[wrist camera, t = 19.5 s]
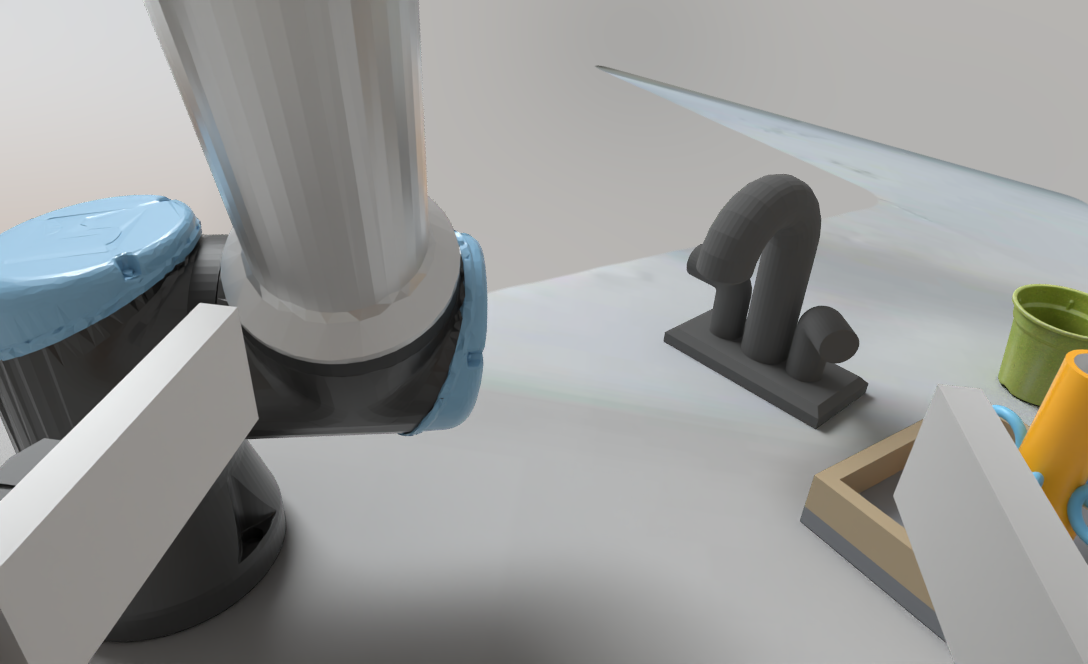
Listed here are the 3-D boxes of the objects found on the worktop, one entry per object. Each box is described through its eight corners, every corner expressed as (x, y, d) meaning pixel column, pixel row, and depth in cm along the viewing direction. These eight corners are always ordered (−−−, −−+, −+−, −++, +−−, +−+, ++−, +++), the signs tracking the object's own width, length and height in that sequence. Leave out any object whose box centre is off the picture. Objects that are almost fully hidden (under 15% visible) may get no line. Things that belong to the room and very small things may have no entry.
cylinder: (1081, 511, 57) (1182, 340, 49) (1134, 628, 48) (1267, 444, 40) (905, 475, 59) (974, 307, 51) (926, 581, 50) (1013, 399, 42)
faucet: (606, 365, 72) (629, 159, 62) (711, 313, 82) (747, 126, 71) (768, 468, 61) (831, 240, 51) (869, 395, 70) (939, 188, 60)
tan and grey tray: (800, 520, 57) (814, 475, 54) (954, 435, 66) (972, 393, 64) (1068, 743, 43) (1103, 696, 41) (1214, 597, 52) (1250, 551, 50)
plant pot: (1094, 384, 74) (1136, 306, 69) (1086, 434, 67) (1132, 351, 62) (988, 349, 78) (1020, 273, 73) (971, 393, 71) (1005, 313, 67)
